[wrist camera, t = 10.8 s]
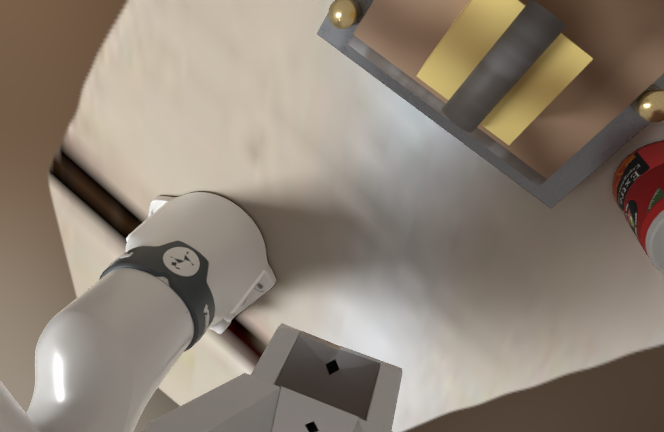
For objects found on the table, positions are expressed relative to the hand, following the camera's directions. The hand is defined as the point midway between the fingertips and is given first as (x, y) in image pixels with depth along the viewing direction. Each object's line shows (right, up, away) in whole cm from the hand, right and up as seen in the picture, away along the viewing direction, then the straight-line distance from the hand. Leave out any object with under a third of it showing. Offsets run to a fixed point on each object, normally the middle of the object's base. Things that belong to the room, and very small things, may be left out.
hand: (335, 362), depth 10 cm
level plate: (+14, +19, +23) cm, 33 cm away
